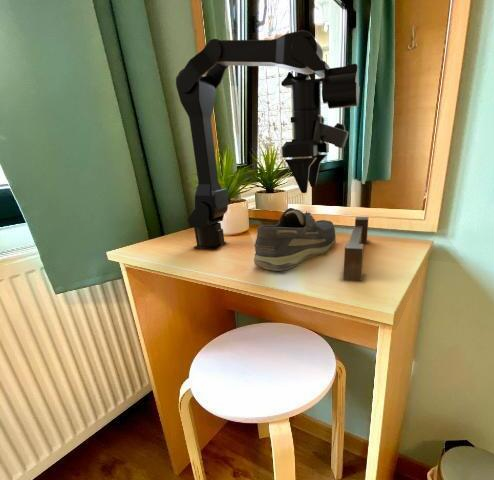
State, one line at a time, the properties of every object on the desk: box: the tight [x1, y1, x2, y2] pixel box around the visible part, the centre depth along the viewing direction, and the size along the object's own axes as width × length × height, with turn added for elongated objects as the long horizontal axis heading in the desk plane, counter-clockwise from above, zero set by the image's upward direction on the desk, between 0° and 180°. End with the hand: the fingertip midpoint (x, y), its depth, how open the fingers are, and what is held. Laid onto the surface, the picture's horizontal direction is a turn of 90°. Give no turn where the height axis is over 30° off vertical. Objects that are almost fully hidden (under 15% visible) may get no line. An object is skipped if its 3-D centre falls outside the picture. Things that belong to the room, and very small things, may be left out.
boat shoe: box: [253, 207, 337, 272], centre depth 71 cm, size 11×29×11 cm, turn 148°
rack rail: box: [343, 216, 369, 282], centre depth 68 cm, size 3×28×6 cm, turn 164°
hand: (308, 189), depth 68 cm, fingers open, 9 cm apart
